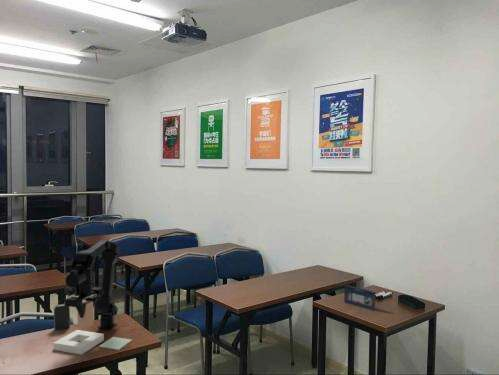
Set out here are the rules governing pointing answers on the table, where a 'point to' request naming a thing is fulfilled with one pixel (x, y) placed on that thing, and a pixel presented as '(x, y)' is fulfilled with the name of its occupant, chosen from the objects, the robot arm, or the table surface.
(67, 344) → the dock
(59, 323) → the battery charger
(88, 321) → the peg
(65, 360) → the table surface
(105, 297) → the robot arm
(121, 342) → the mat
